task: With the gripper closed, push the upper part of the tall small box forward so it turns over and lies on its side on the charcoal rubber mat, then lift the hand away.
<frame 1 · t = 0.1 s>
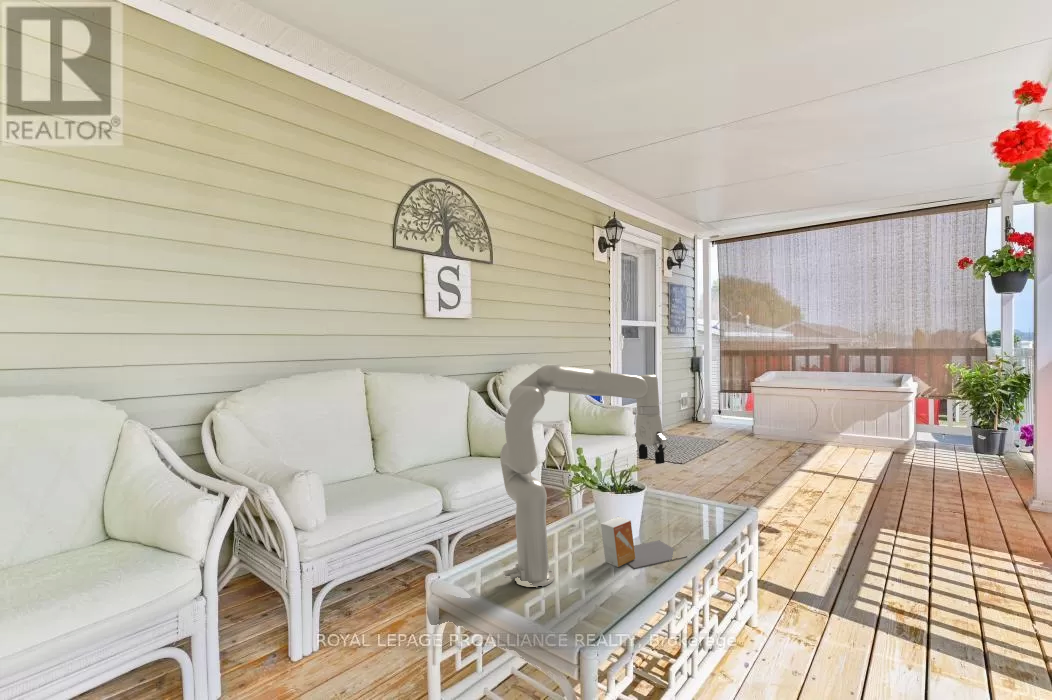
hand: (651, 460, 174), 31 cm above the table, tool pointing down, fingers open, 9 cm apart
mat: (647, 554, 172), on the table
small box: (620, 561, 168), on the table, touching mat
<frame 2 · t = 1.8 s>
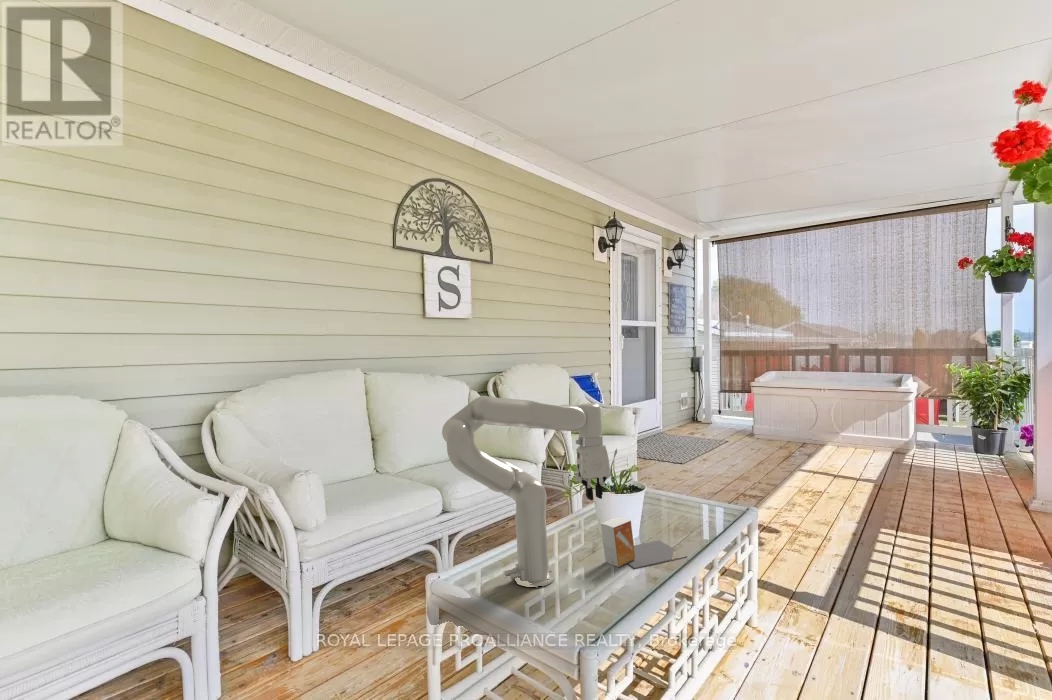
hand: (594, 498, 165), 22 cm above the table, tool pointing down, fingers closed
nothing on the table moved.
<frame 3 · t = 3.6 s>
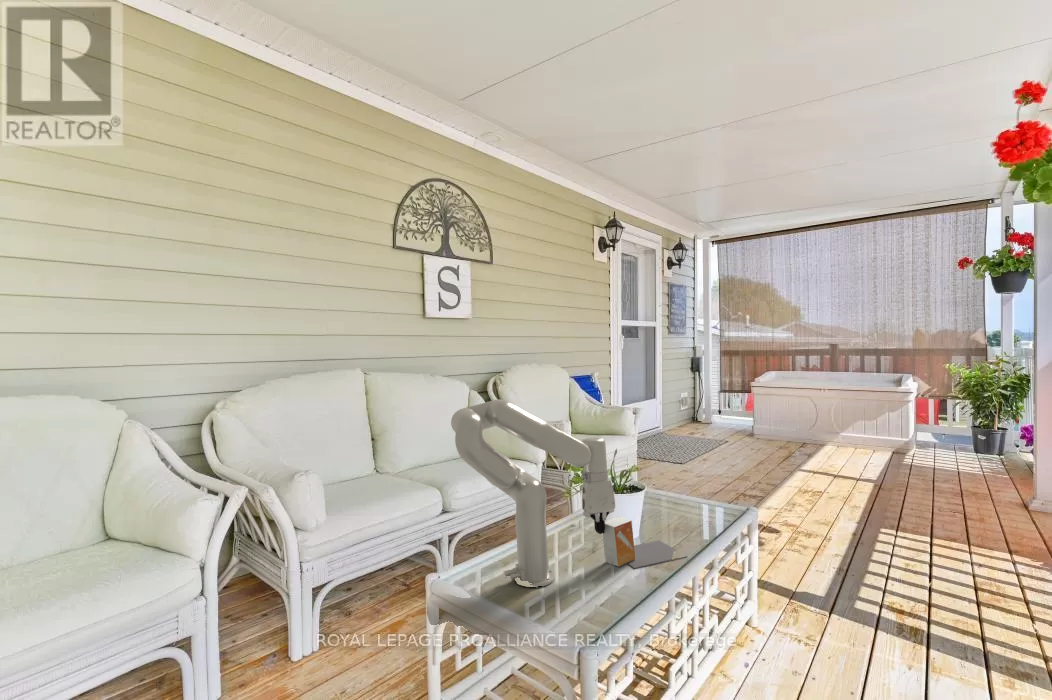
hand: (600, 532, 165), 11 cm above the table, tool pointing down, fingers closed
small box: (620, 561, 168), on the table, touching gripper, mat
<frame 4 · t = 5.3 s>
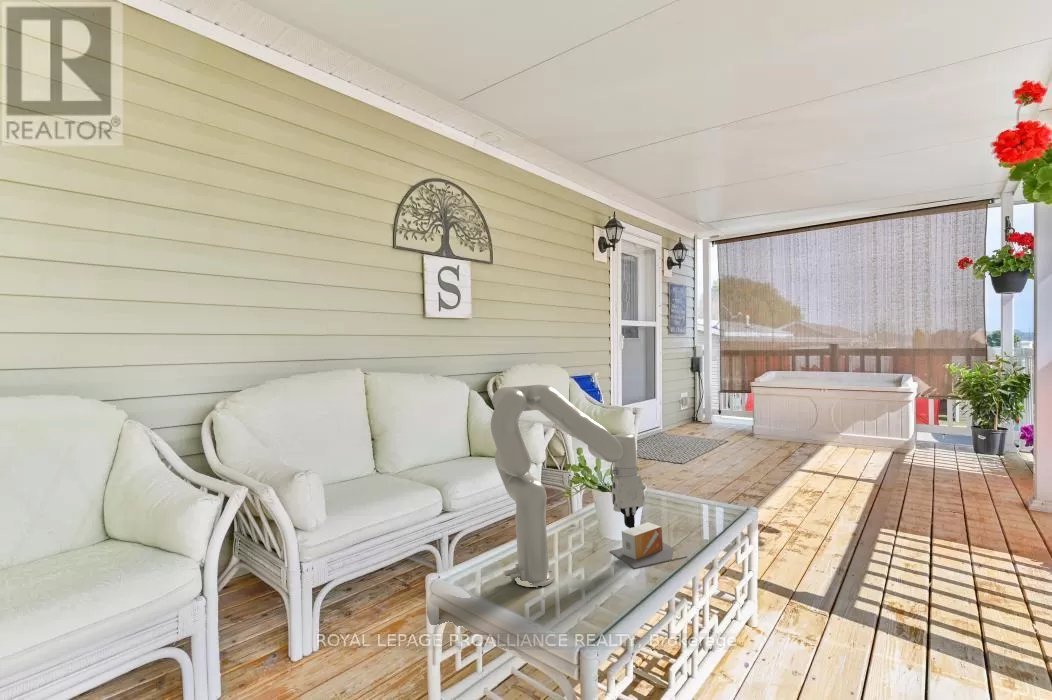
hand: (629, 526, 169), 11 cm above the table, tool pointing down, fingers closed
small box: (628, 545, 170), point 4 cm above the table, touching mat
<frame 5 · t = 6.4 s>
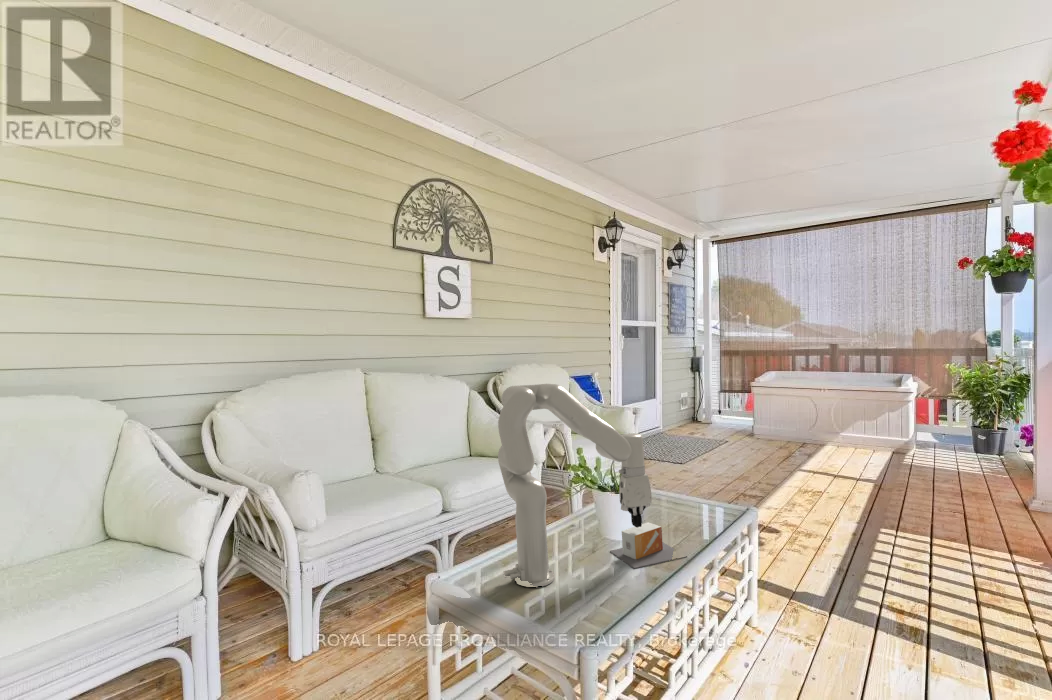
hand: (636, 525, 170), 11 cm above the table, tool pointing down, fingers closed
nothing on the table moved.
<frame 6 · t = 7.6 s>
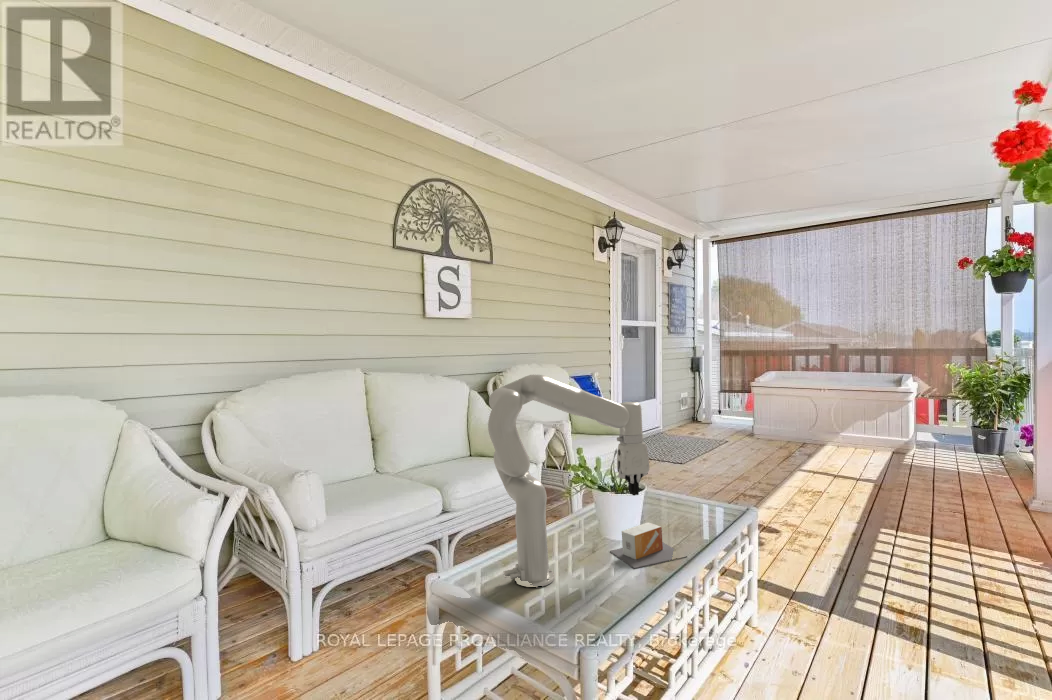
hand: (634, 494, 170), 21 cm above the table, tool pointing down, fingers closed
nothing on the table moved.
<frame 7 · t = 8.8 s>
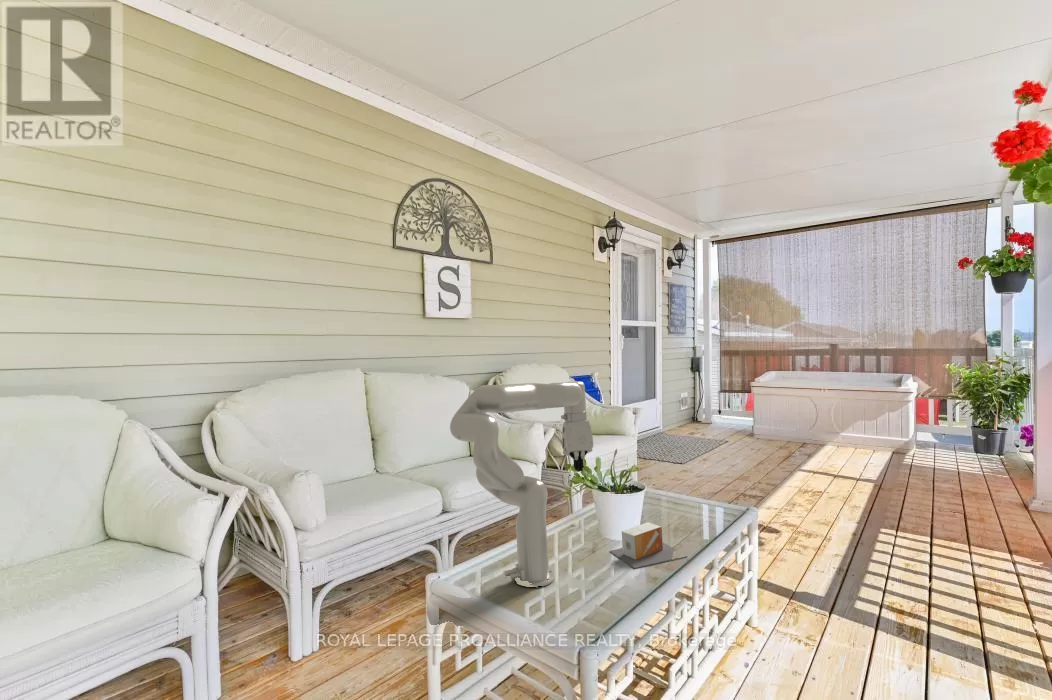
hand: (578, 470, 176), 29 cm above the table, tool pointing down, fingers closed
nothing on the table moved.
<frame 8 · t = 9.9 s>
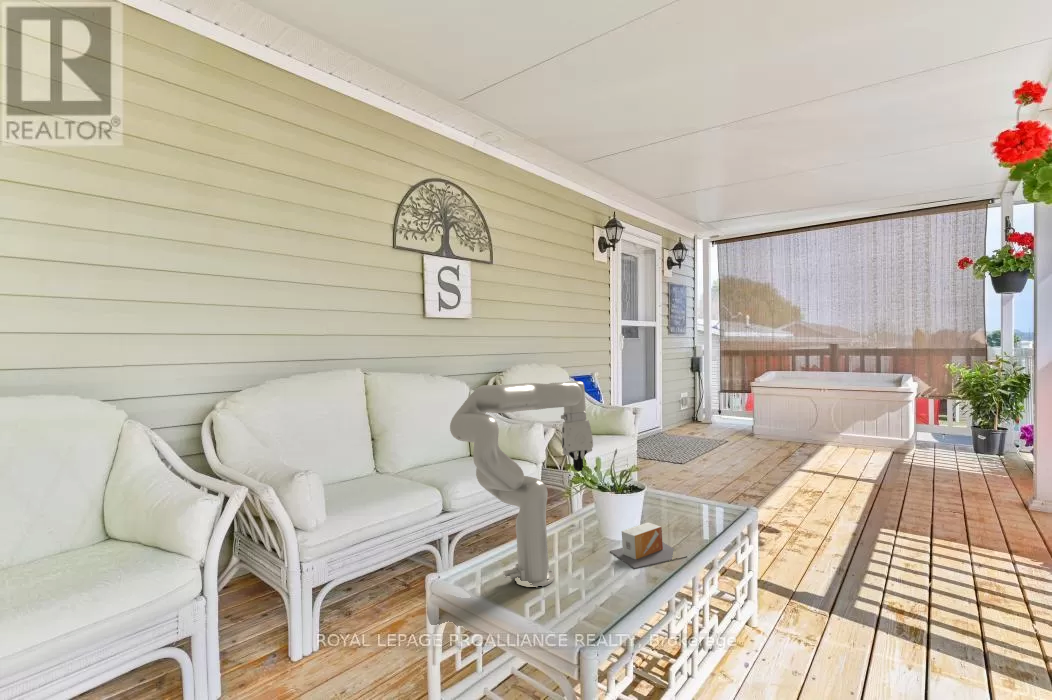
hand: (578, 470, 176), 29 cm above the table, tool pointing down, fingers closed
nothing on the table moved.
at the end: small box tilted 90°; small box touching mat; small box inside the target area (5.3 cm from its centre), point 4.4 cm above the table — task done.
